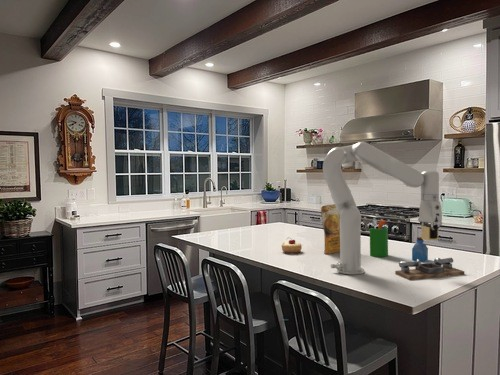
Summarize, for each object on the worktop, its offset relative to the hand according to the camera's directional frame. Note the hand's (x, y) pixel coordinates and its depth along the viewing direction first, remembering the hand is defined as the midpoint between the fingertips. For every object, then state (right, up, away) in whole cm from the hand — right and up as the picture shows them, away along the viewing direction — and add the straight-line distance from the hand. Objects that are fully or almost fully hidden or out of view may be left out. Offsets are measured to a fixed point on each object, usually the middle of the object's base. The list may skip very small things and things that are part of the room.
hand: (429, 237), depth 177 cm
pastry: (-58, -16, +54) cm, 80 cm away
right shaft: (+9, -17, +5) cm, 20 cm away
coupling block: (0, -1, 0) cm, 1 cm away
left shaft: (-9, -17, 0) cm, 20 cm away
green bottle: (-9, -16, +41) cm, 45 cm away
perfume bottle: (+8, -16, +28) cm, 34 cm away
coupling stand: (0, -17, +1) cm, 17 cm away
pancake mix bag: (-34, -16, +52) cm, 64 cm away
